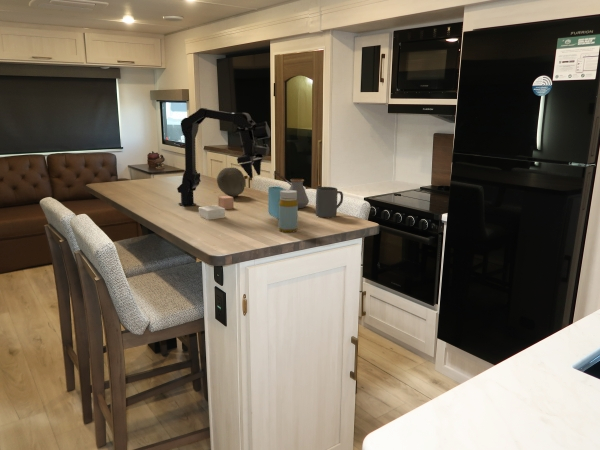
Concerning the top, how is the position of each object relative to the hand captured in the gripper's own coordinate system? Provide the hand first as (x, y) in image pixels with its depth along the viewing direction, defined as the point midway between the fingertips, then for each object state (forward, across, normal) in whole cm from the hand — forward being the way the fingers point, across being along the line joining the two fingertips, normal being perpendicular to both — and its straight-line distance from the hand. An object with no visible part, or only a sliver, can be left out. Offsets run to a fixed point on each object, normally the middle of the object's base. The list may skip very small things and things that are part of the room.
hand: (255, 176), depth 210 cm
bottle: (+20, -31, -21) cm, 43 cm away
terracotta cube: (+12, -2, +17) cm, 21 cm away
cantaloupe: (+10, +25, +26) cm, 37 cm away
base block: (+12, -21, +15) cm, 28 cm away
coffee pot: (+18, +14, -8) cm, 24 cm away
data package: (+18, -10, -10) cm, 23 cm away
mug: (+22, 0, -30) cm, 38 cm away
